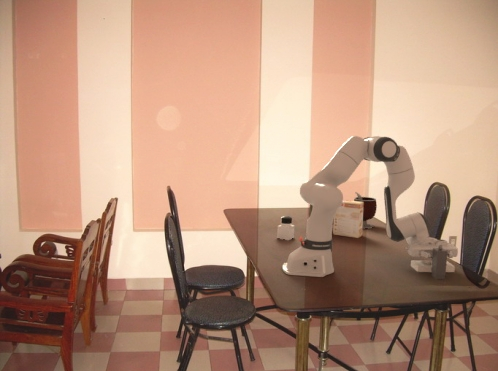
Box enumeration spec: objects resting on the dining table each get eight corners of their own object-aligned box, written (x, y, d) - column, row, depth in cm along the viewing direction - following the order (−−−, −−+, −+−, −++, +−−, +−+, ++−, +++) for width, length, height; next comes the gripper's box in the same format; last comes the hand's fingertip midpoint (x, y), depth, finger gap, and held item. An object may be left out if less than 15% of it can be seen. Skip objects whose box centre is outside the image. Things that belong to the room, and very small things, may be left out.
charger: (435, 280, 197) (438, 246, 195) (430, 277, 202) (433, 243, 200) (445, 280, 198) (447, 246, 195) (440, 277, 202) (442, 243, 200)
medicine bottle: (294, 237, 265) (295, 216, 263) (288, 240, 259) (289, 218, 257) (283, 235, 269) (283, 214, 267) (276, 238, 263) (277, 217, 261)
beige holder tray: (417, 275, 207) (418, 265, 206) (410, 269, 214) (411, 260, 214) (454, 275, 207) (454, 266, 207) (445, 269, 215) (446, 260, 214)
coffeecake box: (362, 235, 273) (364, 201, 270) (358, 238, 266) (360, 203, 264) (337, 232, 280) (338, 198, 277) (332, 234, 274) (334, 200, 271)
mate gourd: (380, 227, 293) (382, 194, 290) (363, 229, 286) (364, 196, 283) (362, 222, 307) (364, 191, 304) (345, 224, 300) (347, 192, 297)
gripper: (403, 239, 211) (415, 248, 198) (449, 240, 212) (464, 248, 198) (402, 253, 212) (414, 263, 198) (448, 254, 213) (463, 263, 199)
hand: (439, 256), depth 198 cm, fingers open, 8 cm apart
